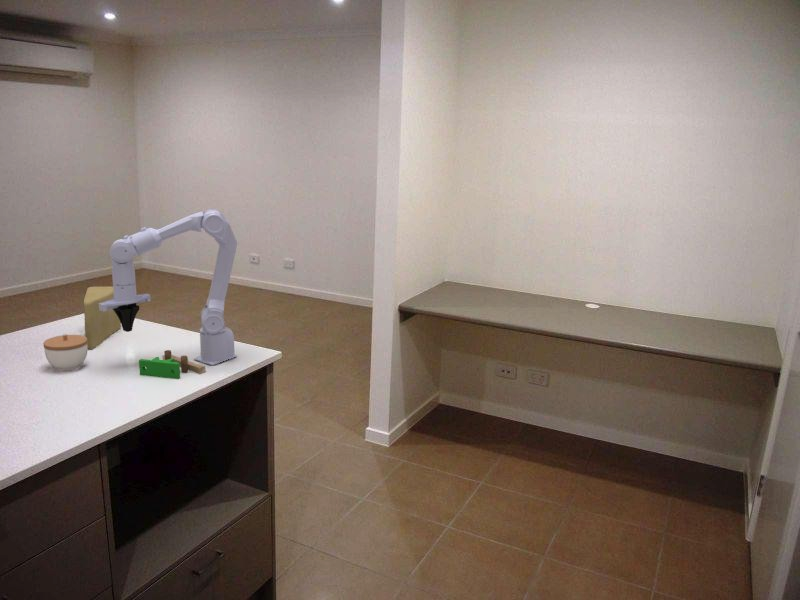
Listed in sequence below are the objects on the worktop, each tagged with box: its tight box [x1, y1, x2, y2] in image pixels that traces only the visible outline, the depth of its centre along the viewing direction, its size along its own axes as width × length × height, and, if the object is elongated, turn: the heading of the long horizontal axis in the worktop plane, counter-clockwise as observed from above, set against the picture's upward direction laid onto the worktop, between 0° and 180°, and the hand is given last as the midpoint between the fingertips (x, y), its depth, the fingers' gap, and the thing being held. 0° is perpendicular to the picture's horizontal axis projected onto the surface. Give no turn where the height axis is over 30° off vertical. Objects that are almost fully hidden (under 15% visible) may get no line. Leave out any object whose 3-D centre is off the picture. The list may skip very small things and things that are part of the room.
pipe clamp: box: [138, 356, 181, 380], centre depth 166 cm, size 11×4×5 cm, turn 82°
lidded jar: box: [42, 333, 89, 371], centre depth 168 cm, size 11×11×9 cm
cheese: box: [83, 286, 122, 350], centre depth 191 cm, size 22×10×15 cm, turn 13°
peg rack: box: [161, 349, 206, 375], centre depth 172 cm, size 4×16×4 cm, turn 58°
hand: (127, 330), depth 170 cm, fingers closed
